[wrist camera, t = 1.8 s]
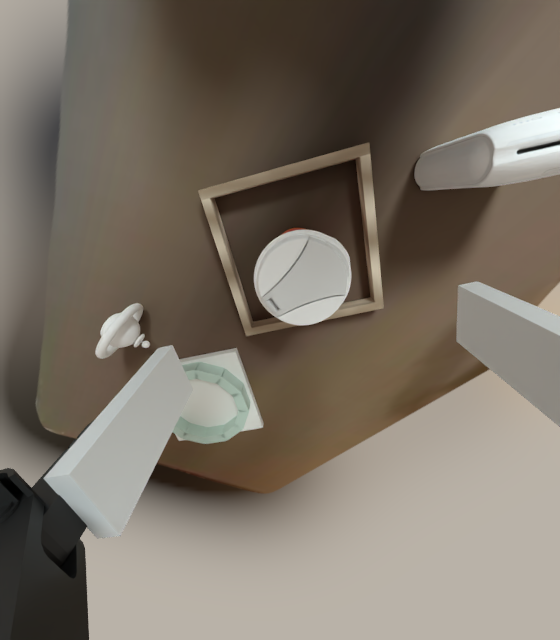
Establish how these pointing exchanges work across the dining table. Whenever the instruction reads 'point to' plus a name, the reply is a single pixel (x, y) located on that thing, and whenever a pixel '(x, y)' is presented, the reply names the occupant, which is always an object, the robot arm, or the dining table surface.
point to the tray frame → (352, 153)
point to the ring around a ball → (121, 331)
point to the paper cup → (302, 276)
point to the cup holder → (217, 399)
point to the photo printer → (495, 155)
